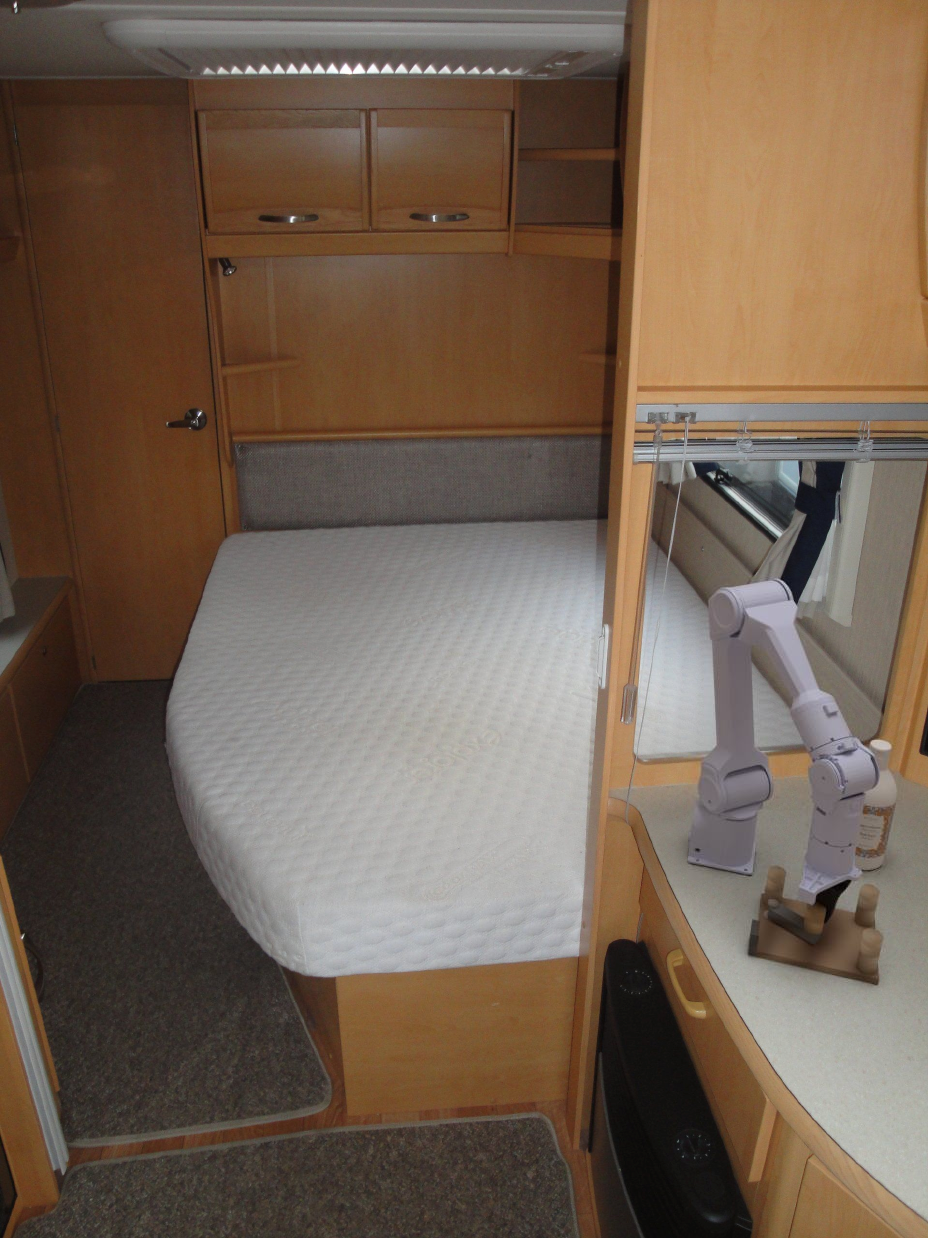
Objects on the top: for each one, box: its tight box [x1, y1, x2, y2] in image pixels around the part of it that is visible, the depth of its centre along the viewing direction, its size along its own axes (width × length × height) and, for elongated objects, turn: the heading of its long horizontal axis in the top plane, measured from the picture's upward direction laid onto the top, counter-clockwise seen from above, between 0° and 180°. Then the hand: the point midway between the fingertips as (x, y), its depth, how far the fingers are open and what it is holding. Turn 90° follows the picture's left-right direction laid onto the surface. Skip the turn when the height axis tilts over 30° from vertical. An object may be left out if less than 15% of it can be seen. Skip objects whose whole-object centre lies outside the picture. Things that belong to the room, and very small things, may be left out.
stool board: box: [747, 865, 884, 986], centre depth 125 cm, size 16×12×6 cm
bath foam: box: [854, 739, 898, 871], centre depth 138 cm, size 7×7×20 cm
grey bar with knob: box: [767, 899, 826, 945], centre depth 125 cm, size 8×2×5 cm, turn 41°
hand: (820, 918), depth 124 cm, fingers closed, pressing on grey bar with knob
